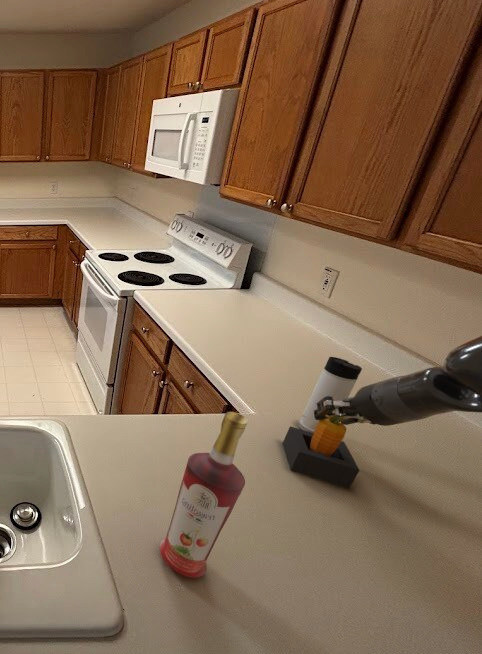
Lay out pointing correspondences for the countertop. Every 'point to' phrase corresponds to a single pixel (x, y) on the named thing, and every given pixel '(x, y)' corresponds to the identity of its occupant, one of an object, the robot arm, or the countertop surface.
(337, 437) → the carrot
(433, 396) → the robot arm
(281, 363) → the countertop surface
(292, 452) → the socket pad
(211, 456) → the liquor
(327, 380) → the travel mug
